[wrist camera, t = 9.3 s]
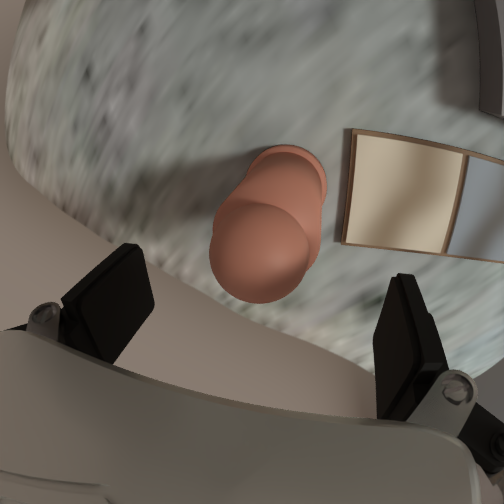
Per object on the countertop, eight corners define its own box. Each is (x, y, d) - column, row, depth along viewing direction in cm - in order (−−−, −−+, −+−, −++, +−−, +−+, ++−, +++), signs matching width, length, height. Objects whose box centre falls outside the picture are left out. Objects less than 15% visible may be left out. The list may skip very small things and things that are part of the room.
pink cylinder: (249, 215, 21) (187, 325, 11) (247, 143, 18) (164, 204, 9) (323, 221, 20) (317, 345, 10) (328, 147, 17) (337, 216, 8)
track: (340, 241, 20) (341, 246, 20) (352, 128, 16) (353, 129, 16) (558, 269, 15) (560, 272, 15) (582, 193, 11) (585, 196, 11)
